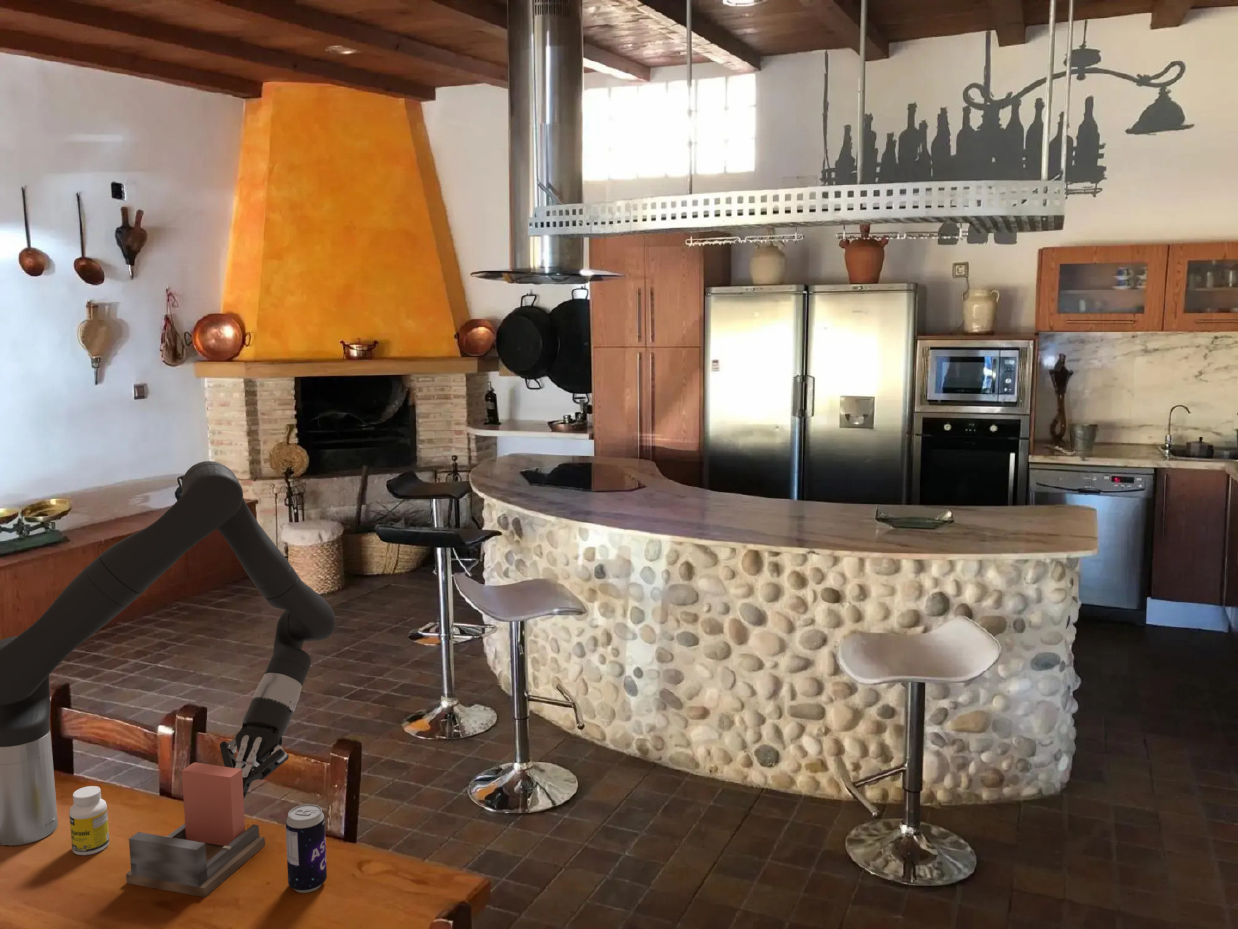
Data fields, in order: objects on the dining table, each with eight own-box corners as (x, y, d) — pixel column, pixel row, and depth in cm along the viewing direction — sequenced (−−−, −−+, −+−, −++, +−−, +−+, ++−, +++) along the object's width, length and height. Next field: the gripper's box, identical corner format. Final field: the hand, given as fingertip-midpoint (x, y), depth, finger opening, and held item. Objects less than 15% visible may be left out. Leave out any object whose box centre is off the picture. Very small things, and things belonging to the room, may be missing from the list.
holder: (126, 883, 149) (123, 837, 148) (191, 834, 164) (189, 792, 163) (204, 897, 146) (202, 851, 145) (264, 845, 160) (262, 803, 159)
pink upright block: (186, 839, 159) (181, 770, 157) (198, 830, 161) (194, 762, 160) (233, 847, 156) (230, 777, 155) (245, 838, 159) (242, 769, 158)
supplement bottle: (64, 852, 158) (59, 795, 156) (93, 836, 163) (89, 781, 161) (88, 859, 156) (84, 802, 154) (117, 843, 161) (113, 787, 159)
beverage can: (315, 898, 146) (312, 823, 144) (281, 893, 147) (277, 819, 146) (333, 877, 152) (331, 805, 150) (300, 872, 153) (297, 801, 151)
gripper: (230, 691, 172) (187, 789, 162) (297, 700, 168) (257, 799, 159) (250, 709, 178) (210, 803, 168) (315, 717, 174) (277, 814, 164)
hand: (233, 801), depth 163 cm, fingers closed
